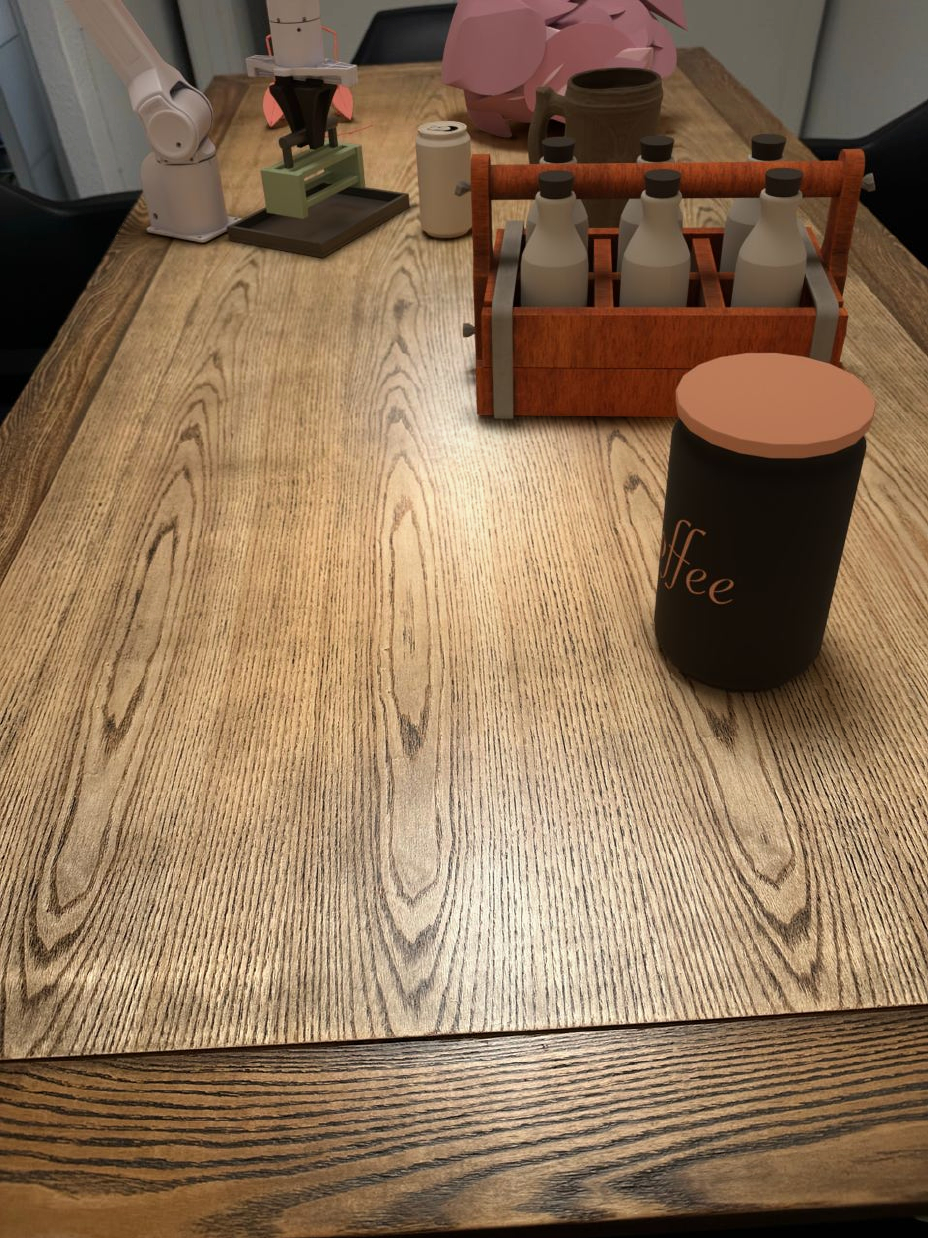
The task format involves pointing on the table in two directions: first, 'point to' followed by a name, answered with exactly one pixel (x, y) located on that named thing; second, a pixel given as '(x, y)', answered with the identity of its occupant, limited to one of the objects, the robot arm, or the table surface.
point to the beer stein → (601, 124)
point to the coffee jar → (757, 515)
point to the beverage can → (443, 178)
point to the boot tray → (321, 221)
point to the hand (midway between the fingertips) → (310, 146)
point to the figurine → (340, 100)
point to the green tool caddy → (311, 172)
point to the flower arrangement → (548, 49)
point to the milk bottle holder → (650, 275)
